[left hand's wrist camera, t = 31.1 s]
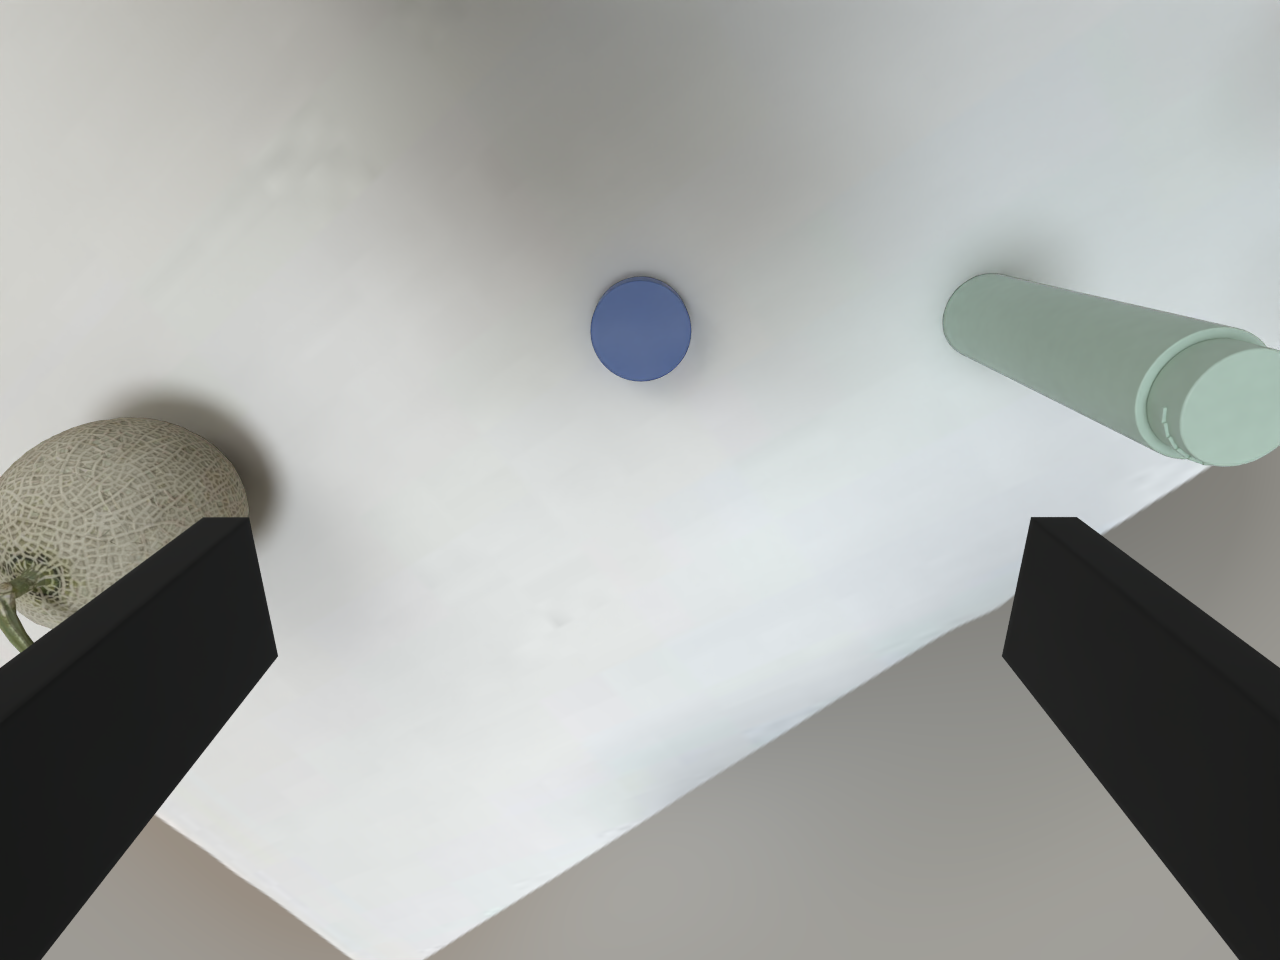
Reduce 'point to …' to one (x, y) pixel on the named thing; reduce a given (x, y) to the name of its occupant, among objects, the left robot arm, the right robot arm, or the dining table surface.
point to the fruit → (101, 512)
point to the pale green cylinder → (1126, 366)
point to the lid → (640, 329)
